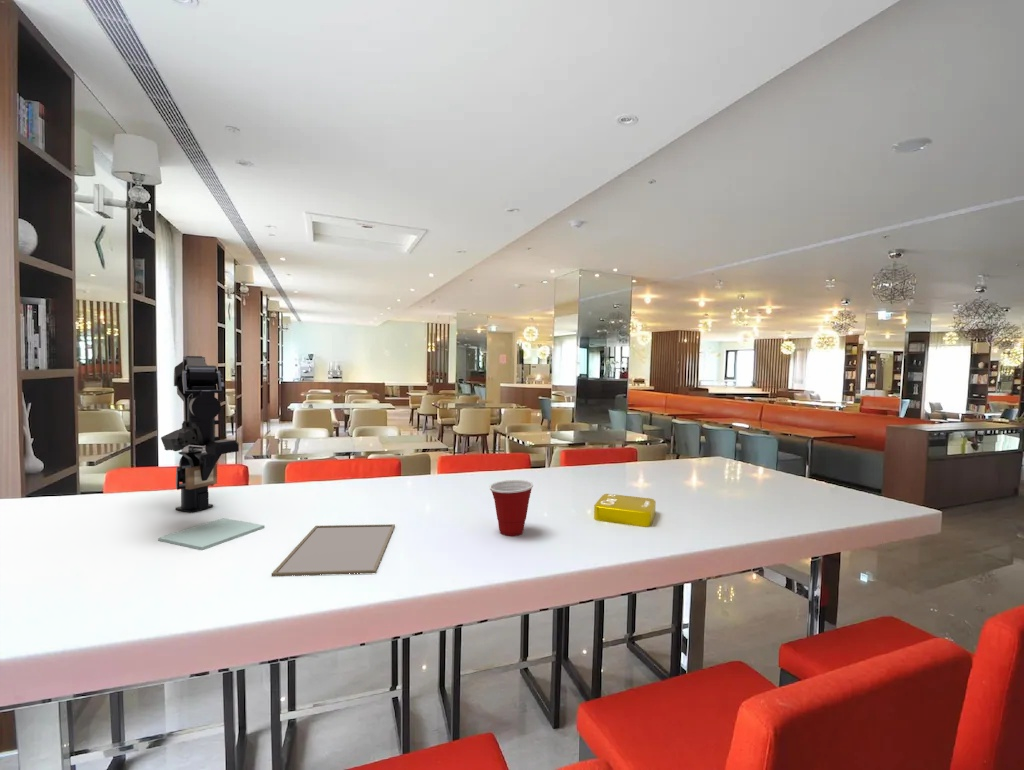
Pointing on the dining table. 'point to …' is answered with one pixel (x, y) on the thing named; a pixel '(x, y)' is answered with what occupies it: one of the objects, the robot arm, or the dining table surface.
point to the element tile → (625, 510)
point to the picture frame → (338, 550)
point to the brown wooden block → (199, 477)
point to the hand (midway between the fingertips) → (201, 480)
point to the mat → (211, 533)
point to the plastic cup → (511, 505)
